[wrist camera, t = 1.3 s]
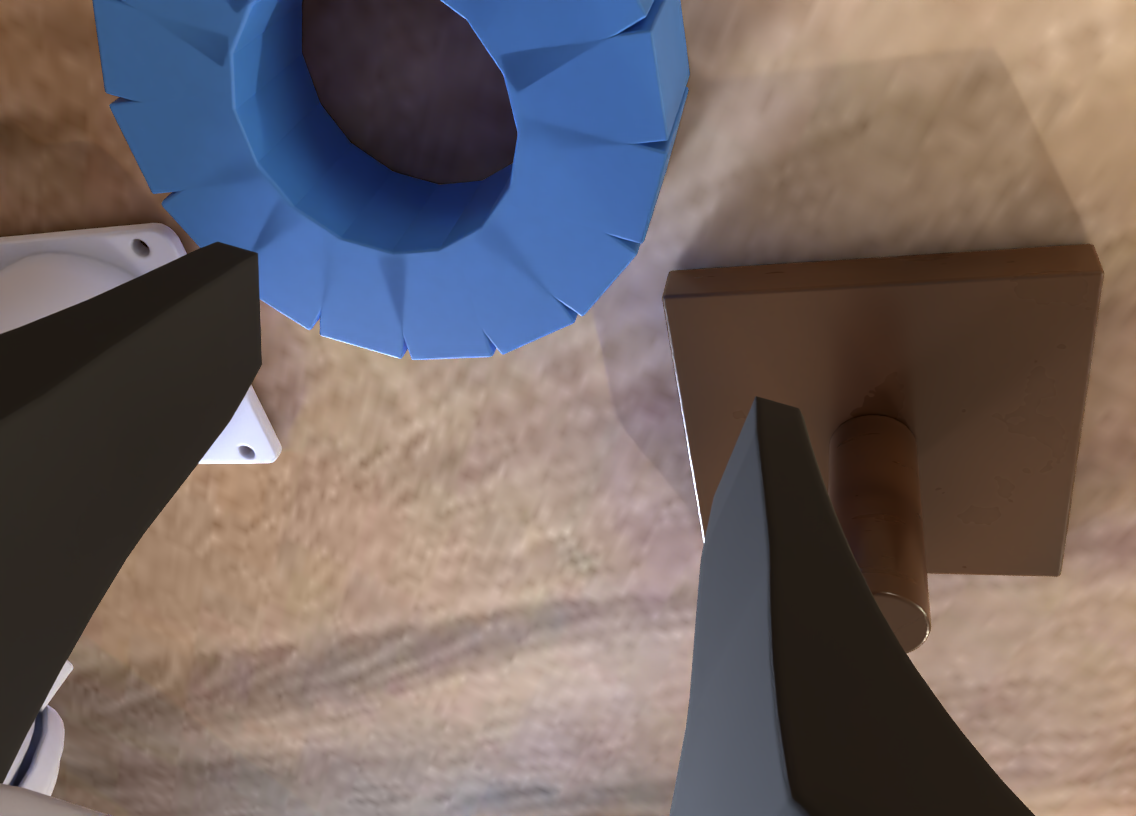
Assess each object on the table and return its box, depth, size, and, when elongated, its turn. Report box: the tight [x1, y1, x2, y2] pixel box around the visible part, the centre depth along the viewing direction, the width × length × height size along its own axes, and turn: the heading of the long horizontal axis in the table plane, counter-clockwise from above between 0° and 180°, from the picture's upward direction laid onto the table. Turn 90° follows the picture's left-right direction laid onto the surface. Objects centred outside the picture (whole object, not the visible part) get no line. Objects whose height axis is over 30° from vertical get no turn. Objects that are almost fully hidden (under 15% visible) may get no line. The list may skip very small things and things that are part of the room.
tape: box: [92, 0, 690, 360], centre depth 20 cm, size 11×11×3 cm
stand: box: [662, 244, 1104, 654], centre depth 22 cm, size 9×9×7 cm
